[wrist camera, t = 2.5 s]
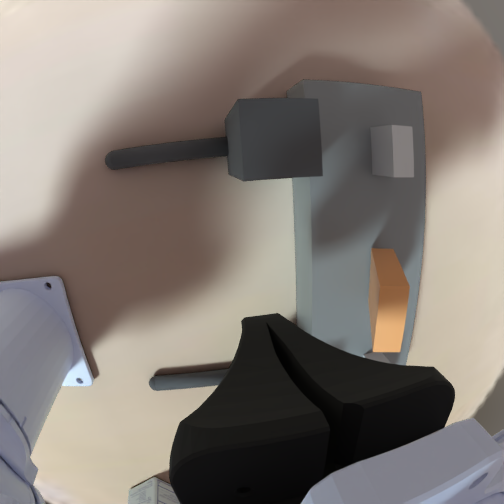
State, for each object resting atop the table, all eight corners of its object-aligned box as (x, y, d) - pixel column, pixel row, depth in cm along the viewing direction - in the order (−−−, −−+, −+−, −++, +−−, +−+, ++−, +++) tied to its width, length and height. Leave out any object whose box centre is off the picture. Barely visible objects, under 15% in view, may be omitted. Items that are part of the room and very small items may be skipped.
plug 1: (110, 188, 16) (70, 202, 11) (106, 134, 15) (63, 124, 10) (282, 170, 18) (322, 176, 12) (279, 117, 17) (318, 98, 11)
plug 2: (155, 395, 20) (148, 460, 15) (144, 361, 19) (132, 426, 14) (289, 379, 22) (315, 439, 16) (289, 344, 21) (319, 403, 15)
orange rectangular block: (368, 300, 17) (372, 351, 12) (371, 248, 16) (380, 286, 12) (388, 301, 17) (400, 352, 12) (393, 248, 16) (410, 286, 11)
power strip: (296, 393, 22) (317, 440, 17) (286, 91, 16) (317, 69, 12) (380, 372, 23) (411, 411, 18) (392, 98, 17) (443, 87, 12)
